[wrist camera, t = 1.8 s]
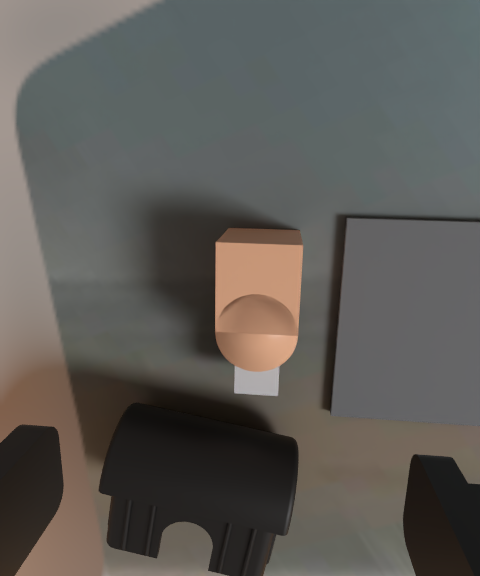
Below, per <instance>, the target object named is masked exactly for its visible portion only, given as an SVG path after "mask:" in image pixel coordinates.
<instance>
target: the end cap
mask: <svg viewBox="0 0 480 576" xmlns="http://www.w3.org/2000/svg"><path fill="white" fill-rule="evenodd" d="M297 475H298V445H297V442H296V440H295V439H294V438H292V437H288V436H284V435H279V434H275V433H270V432H266V431H261V430H257V429H252V428H248V427H243V426H239V425H234V424H230V423H225V422H221V421H216V420H212V419H208V418H203V417H199V416H194V415H190V414H185V413H181V412H176V411H172V410H167V409H163V408H158V407H154V406H149V405H145V404H140V403H133V404H131V405H130V406H129V407H128V408H127V409H126V411H125V412H124V414H123V415H122V417H121V419H120V421H119V423H118V425H117V427H116V430H115V432H114V434H113V437H112V440H111V442H110V445H109V448H108V451H107V455H106V458H105V462H104V465H103V469H102V474H101V479H100V485H99V492H100V493H102V494H106V495H110V496H111V503H110V511H109V519H108V532H107V543H108V545H109V546H110V547H112V548H115V549H120V550H124V551H128V552H132V553H136V554H140V555H145V556H149V557H153V558H157V556H158V553H159V548H160V542H161V537H162V532H163V530H164V529H165V528H166V527H167V526H169V525H170V524H173V523H175V522H191V523H194V524H197V525H199V526H201V527H202V528H203V529H205V530H206V531H207V532H208V534H209V535H210V537H211V539H212V542H213V550H212V554H211V559H210V564H209V569H208V571H212V572H216V573H220V574H224V575H229V576H263V574H264V570H265V567H266V564H268V563H269V560H270V556H271V553H272V549H273V545H274V541H275V537H276V534H277V535H282V536H285V535H287V534H288V530H289V526H290V521H291V516H292V511H293V506H294V500H295V493H296V485H297Z"/></svg>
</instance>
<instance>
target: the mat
mask: <svg viewBox="0 0 480 576" xmlns="http://www.w3.org/2000/svg"><path fill="white" fill-rule="evenodd" d="M330 413H331V416H342V417H357V418H371V419H385V420H400V421H414V422H428V423H442V424H457V425H471V426H480V221H449V220H416V219H384V218H351V217H346V227H345V239H344V251H343V263H342V275H341V287H340V299H339V311H338V323H337V335H336V347H335V359H334V371H333V383H332V395H331V407H330Z"/></svg>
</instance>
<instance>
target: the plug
mask: <svg viewBox="0 0 480 576" xmlns="http://www.w3.org/2000/svg"><path fill="white" fill-rule="evenodd" d="M302 257H303V243H302V238H301V234H300V230H279V229H249V228H228V229H227V230H226V232H225V233H224V234H223V235H222V236H221V237H220V238H219V239H218V240H217V241H216V288H215V336H216V341H217V344H218V347H219V349H220V351H221V352H222V354H223V355H224V357H225V358H226V359H227V360H228V361H229V362H231V363H232V364H233V365H235V385H234V393H239V394H254V395H269V396H278V383H279V366H280V365H282V364H283V363H284V362H285V361H286V360H287V359H288V358H289V357H290V356H291V355H292V353H293V351H294V349H295V347H296V344H297V339H298V325H299V308H300V291H301V274H302Z"/></svg>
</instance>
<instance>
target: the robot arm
mask: <svg viewBox="0 0 480 576" xmlns="http://www.w3.org/2000/svg"><path fill="white" fill-rule="evenodd" d="M62 494H63V474H62V464H61V454H60V444H59V435H58V431H57V430H56V429H55V428H54V427H47V426H35V425H34V426H33V425H20V426H18V427H17V428H16V429H14V430H13V431H12V432H11V433H10V434H9V435H8V436H7V437H6V438H5V439H4V440H3V441H2V442H1V443H0V576H15V574H16V573H17V571H18V570H19V568H20V567H21V565H22V564H23V562H24V561H25V559H26V558H27V556H28V555H29V553H30V552H31V550H32V548H33V547H34V546H35V544H36V543H37V541H38V540H39V538H40V537H41V535H42V533H43V532H44V531H45V529H46V527H47V526H48V524H49V523H50V521H51V520H52V518H53V517H54V515H55V514H56V512H57V510H58V508H59V505H60V502H61V499H62ZM403 528H404V537H405V542H406V546H407V550H408V553H409V556H410V559H411V562H412V565H413V568H414V571H415V574H416V576H480V484H468V483H467V481H466V479H465V478H464V476H463V474H462V473H461V471H460V469H459V467H458V466H457V464H456V462H455V461H454V459H453V458H451V457H444V456H430V455H417V454H415V455H413V457H412V459H411V463H410V470H409V477H408V485H407V492H406V499H405V506H404V514H403Z"/></svg>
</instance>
